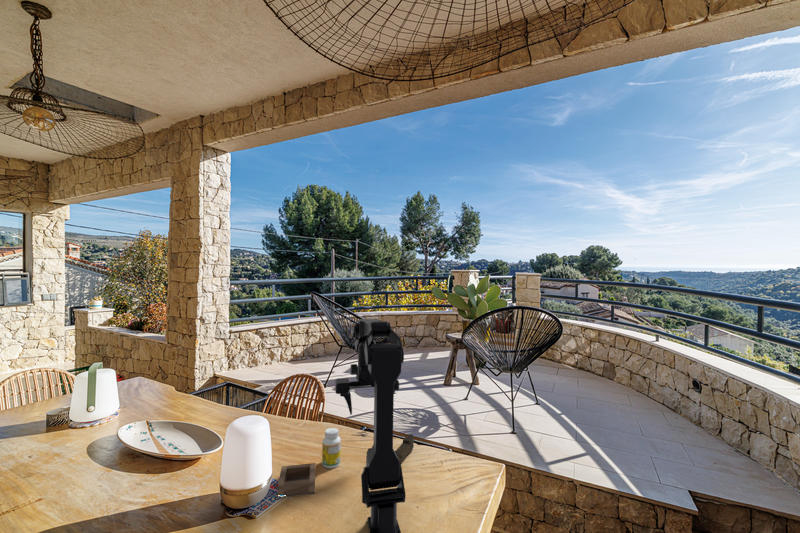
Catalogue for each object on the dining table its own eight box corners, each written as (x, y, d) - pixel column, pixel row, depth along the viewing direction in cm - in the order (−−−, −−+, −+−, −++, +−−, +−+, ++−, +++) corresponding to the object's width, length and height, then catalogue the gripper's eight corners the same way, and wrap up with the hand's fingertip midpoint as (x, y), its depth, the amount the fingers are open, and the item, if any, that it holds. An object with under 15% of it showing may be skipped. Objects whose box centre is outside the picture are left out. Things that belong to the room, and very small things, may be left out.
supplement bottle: (341, 467, 100) (342, 433, 100) (322, 470, 98) (323, 435, 99) (339, 458, 105) (339, 426, 105) (321, 460, 103) (321, 428, 104)
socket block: (314, 493, 87) (314, 481, 87) (277, 497, 85) (277, 485, 86) (315, 473, 96) (315, 462, 96) (281, 477, 94) (281, 466, 94)
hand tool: (393, 477, 95) (393, 460, 96) (381, 473, 97) (381, 457, 97) (420, 448, 112) (421, 434, 112) (409, 445, 114) (409, 431, 114)
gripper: (392, 353, 113) (391, 400, 113) (334, 355, 109) (333, 404, 109) (400, 362, 102) (399, 414, 102) (336, 365, 98) (335, 420, 98)
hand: (366, 412), depth 103 cm, fingers open, 9 cm apart
